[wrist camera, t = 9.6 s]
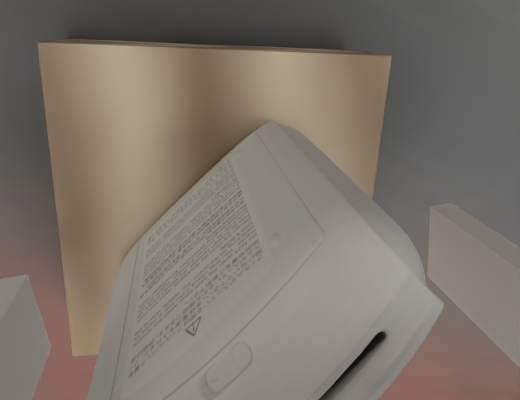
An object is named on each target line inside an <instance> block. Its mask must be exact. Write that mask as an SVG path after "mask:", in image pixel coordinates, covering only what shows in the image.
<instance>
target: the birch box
mask: <svg viewBox="0 0 520 400" xmlns="http://www.w3.org/2000/svg"><path fill="white" fill-rule="evenodd" d="M37 45H38V53H39V62H40V71H41V80H42V89H43V97H44V106H45V115H46V124H47V133H48V141H49V150H50V159H51V168H52V177H53V185H54V194H55V203H56V212H57V221H58V229H59V238H60V247H61V256H62V265H63V273H64V282H65V291H66V300H67V309H68V317H69V326H70V335H71V344H72V353H73V356H84V355H97V354H98V352H99V347H100V343H101V339H102V334H103V330H104V326H105V322H106V318H107V314H108V310H109V306H110V301H111V297H112V293H113V288H114V284H115V279H116V275H117V271H118V269H119V267H120V265H121V263H122V262H123V260H124V259H125V257H126V256H127V254H128V253H129V251H130V250H131V249H132V247H133V246H134V245H135V244H136V243H137V242H138V241H139V239H140V238H141V237H142V236H143V235H144V234H145V233H146V232H147V231H148V230H149V229H150V228H151V227H152V226H153V225H154V224H155V223H156V222H157V221H158V220H159V219H160V218H161V217H162V216H163V215H164V214H165V213H166V212H167V211H168V210H169V209H170V208H171V207H172V206H173V205H174V204H175V203H176V202H177V201H178V200H179V199H180V198H181V197H182V196H183V195H184V194H185V193H186V192H187V191H189V190H190V189H191V188H192V187H193V186H194V185H195V184H196V183H197V182H198V181H199V180H200V179H201V178H202V177H203V176H204V175H205V174H206V173H207V172H209V171H210V170H211V169H212V168H213V167H214V166H215V165H216V164H217V163H218V162H219V161H220V160H221V159H222V158H223V157H224V156H226V155H227V154H228V153H229V152H230V151H231V150H232V149H234V148H235V147H236V146H237V145H238V144H239V143H240V142H241V141H243V140H244V139H245V138H246V137H247V136H249V135H250V134H251V133H253V132H254V131H255V130H257V129H258V128H260V127H261V126H263V125H265V124H266V123H268V122H270V121H273V120H274V121H276V122H277V123H278V125H283V126H288V127H291V128H293V129H296V130H298V131H299V132H301V133H302V134H303V135H305V136H306V137H307V138H308V139H309V140H310V141H311V142H312V143H313V144H315V145H316V146H317V147H318V148H319V149H320V150H321V151H322V152H323V153H324V154H325V155H326V156H327V157H328V158H329V159H330V160H331V161H332V162H333V163H335V164H336V165H337V166H338V167H339V168H340V169H341V170H342V171H343V172H344V173H345V174H346V175H347V176H348V177H349V178H350V179H351V180H352V181H353V182H354V183H355V184H356V185H357V186H358V187H359V188H361V189H362V190H363V191H364V192H365V193H366V194H367V195H368V196H369V197H370V198H371V199H373V192H374V184H375V177H376V169H377V162H378V155H379V147H380V140H381V132H382V125H383V118H384V110H385V103H386V95H387V88H388V80H389V73H390V66H391V58H392V56H387V55H380V54H373V53H365V52H358V51H350V50H336V49H311V48H287V47H262V46H237V45H212V44H188V43H163V42H138V41H113V40H88V39H61V40H53V41H45V42H37Z"/></svg>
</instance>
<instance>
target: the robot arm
mask: <svg viewBox="0 0 520 400" xmlns="http://www.w3.org/2000/svg"><path fill="white" fill-rule="evenodd" d="M428 277H429V278H430V279H431V280H432V281H433V282H434V283H435V284H436V285H437V286H438V287H439V288H440V289H441V290H442V291H443V292H444V293H445V294H446V295H447V296H448V297H449V298H450V299H451V300H452V301H453V302H454V303H455V304H456V305H457V306H458V307H459V308H460V309H461V310H462V311H463V312H464V313H465V314H466V315H467V316H468V317H469V318H470V319H471V320H472V321H473V322H474V323H475V324H476V325H477V326H478V327H479V328H480V329H481V330H482V331H483V332H484V333H485V334H486V335H487V336H488V337H489V338H490V339H491V340H492V341H493V342H494V343H495V344H496V345H497V346H498V347H499V348H500V349H501V350H502V351H503V352H504V353H505V354H506V355H507V356H508V357H509V358H510V359H511V360H512V361H513V362H514V363H515V364H516V365H517V366H518V367H519V368H520V247H519V246H517V245H516V244H514V243H513V242H511V241H510V240H508V239H507V238H505V237H503V236H502V235H500V234H499V233H497V232H496V231H494V230H493V229H491V228H489V227H488V226H486V225H485V224H483V223H482V222H480V221H479V220H477V219H476V218H474V217H472V216H471V215H469V214H468V213H466V212H465V211H463V210H462V209H460V208H459V207H457V206H455V205H454V204H452V203H447V204H441V205H436V206H430V229H429V254H428ZM51 348H52V347H51V344H50V341H49V338H48V335H47V332H46V329H45V326H44V323H43V320H42V317H41V314H40V311H39V308H38V304H37V301H36V298H35V295H34V292H33V289H32V286H31V283H30V280H29V277H28V274H26V275H20V276H15V277H9V278H3V279H1V280H0V400H32V399H33V396H34V394H35V391H36V388H37V386H38V383H39V380H40V377H41V375H42V372H43V369H44V367H45V364H46V361H47V358H48V356H49V353H50V350H51Z"/></svg>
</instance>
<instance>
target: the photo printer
mask: <svg viewBox="0 0 520 400" xmlns="http://www.w3.org/2000/svg"><path fill="white" fill-rule="evenodd" d="M443 307H444V303H443V302H442V300H441V299H440V298H439V297H438V296H437V295H436V294H435V293H434V292H433V291H432V290H431V289H430V288H429V286H428V285H427V284H426V280H425V273H424V269H423V266H422V262H421V259H420V256H419V254H418V252H417V250H416V248H415V246H414V244H413V243H412V241H411V239H410V238H409V236H408V235H407V234H406V233H405V232H404V231H403V229H402V228H401V227H400V226H399V225H398V224H397V223H396V222H395V221H394V220H393V219H392V218H391V217H390V216H389V215H388V214H387V213H386V212H385V211H384V210H383V209H381V208H380V207H379V206H378V205H377V204H376V203H375V202H374V201H373V200H372V199H371V198H370V197H369V196H368V195H367V194H366V193H365V192H364V191H363V190H362V189H361V188H359V187H358V186H357V185H356V184H355V183H354V182H353V181H352V180H351V179H350V178H349V177H348V176H347V175H346V174H345V173H344V172H343V171H342V170H341V169H340V168H339V167H338V166H337V165H336V164H335V163H333V162H332V161H331V160H330V159H329V158H328V157H327V156H326V155H325V154H324V153H323V152H322V151H321V150H320V149H319V148H318V147H317V146H316V145H315V144H313V143H312V142H311V141H310V140H309V139H308V138H307V137H306V136H305V135H303V134H302V133H301V132H299V131H298V130H296V129H293V128H291V127H288V126H283V125H278V123H277V122H276V121H274V120H273V121H270V122H268V123H266V124H265V125H263V126H261V127H260V128H258V129H257V130H255V131H254V132H253V133H251V134H250V135H249V136H247V137H246V138H245V139H244V140H243V141H241V142H240V143H239V144H238V145H237V146H236V147H235V148H234V149H232V150H231V151H230V152H229V153H228V154H227V155H226V156H224V157H223V158H222V159H221V160H220V161H219V162H218V163H217V164H216V165H215V166H214V167H213V168H212V169H211V170H210V171H209V172H207V173H206V174H205V175H204V176H203V177H202V178H201V179H200V180H199V181H198V182H197V183H196V184H195V185H194V186H193V187H192V188H191V189H190V190H189V191H187V192H186V193H185V194H184V195H183V196H182V197H181V198H180V199H179V200H178V201H177V202H176V203H175V204H174V205H173V206H172V207H171V208H170V209H169V210H168V211H167V212H166V213H165V214H164V215H163V216H162V217H161V218H160V219H159V220H158V221H157V222H156V223H155V224H154V225H153V226H152V227H151V228H150V229H149V230H148V231H147V232H146V233H145V234H144V235H143V236H142V237H141V238H140V239H139V241H138V242H137V243H136V244H135V245H134V246H133V247H132V249H131V250H130V251H129V253H128V254H127V256H126V257H125V259H124V260H123V262H122V263H121V265H120V267H119V269H118V271H117V275H116V279H115V284H114V288H113V293H112V297H111V301H110V306H109V310H108V314H107V318H106V322H105V326H104V330H103V334H102V339H101V343H100V347H99V352H98V356H97V360H96V364H95V368H94V372H93V376H92V380H91V384H90V389H89V393H88V397H87V400H377V399H378V398H379V397H380V396H381V395H382V394H383V393H384V392H385V390H386V389H387V388H388V387H389V386H390V385H391V383H392V382H393V381H394V380H395V379H396V377H397V376H398V375H399V374H400V372H401V371H402V370H403V369H404V367H405V366H406V365H407V364H408V362H409V361H410V360H411V359H412V357H413V356H414V354H415V353H416V352H417V350H418V349H419V347H420V346H421V344H422V343H423V341H424V340H425V338H426V337H427V335H428V334H429V332H430V330H431V329H432V327H433V325H434V324H435V322H436V320H437V319H438V317H439V315H440V313H441V311H442V309H443Z"/></svg>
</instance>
